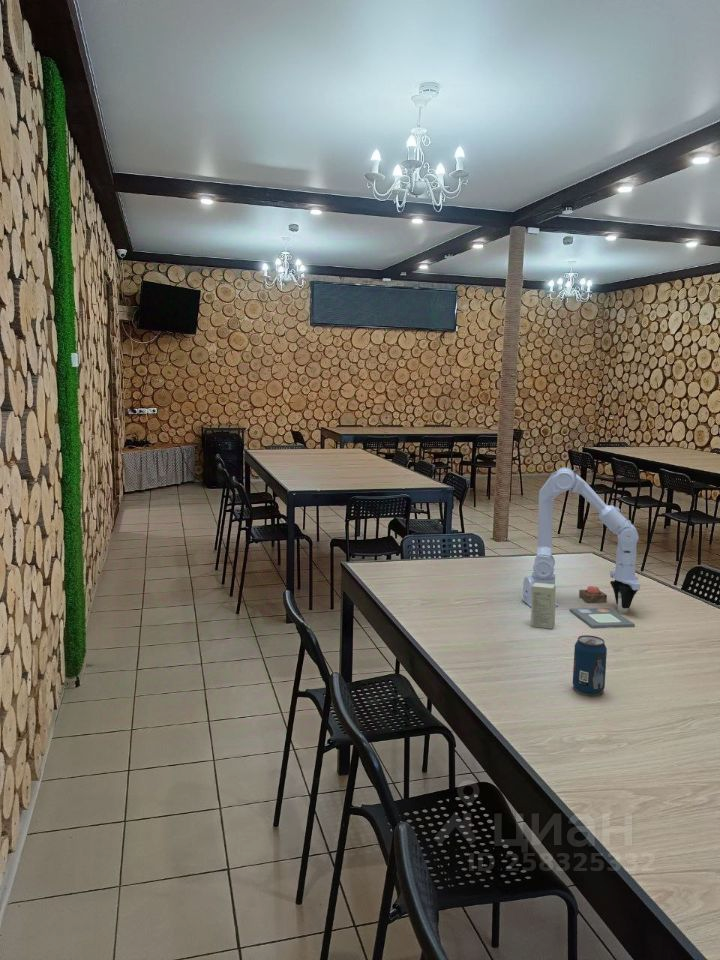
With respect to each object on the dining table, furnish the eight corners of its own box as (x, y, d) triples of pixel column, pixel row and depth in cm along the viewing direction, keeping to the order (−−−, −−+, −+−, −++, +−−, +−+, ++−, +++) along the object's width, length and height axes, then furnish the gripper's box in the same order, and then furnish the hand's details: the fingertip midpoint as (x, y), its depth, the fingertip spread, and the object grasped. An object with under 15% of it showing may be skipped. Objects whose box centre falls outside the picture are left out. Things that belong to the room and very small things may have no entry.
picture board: (592, 628, 194) (592, 625, 194) (569, 611, 209) (570, 608, 208) (634, 626, 195) (634, 623, 195) (609, 610, 210) (609, 607, 210)
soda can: (579, 680, 158) (581, 632, 157) (608, 689, 154) (611, 639, 152) (567, 690, 153) (570, 640, 152) (597, 699, 149) (600, 648, 147)
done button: (590, 598, 218) (590, 589, 218) (585, 595, 222) (585, 586, 221) (600, 598, 219) (601, 589, 218) (595, 594, 222) (595, 586, 222)
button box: (587, 603, 217) (588, 595, 217) (579, 597, 223) (579, 589, 223) (606, 602, 218) (607, 595, 217) (597, 596, 224) (597, 589, 224)
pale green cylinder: (620, 613, 207) (621, 594, 206) (615, 609, 210) (616, 591, 210) (630, 612, 208) (631, 594, 207) (624, 609, 211) (626, 591, 210)
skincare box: (554, 624, 196) (557, 584, 195) (552, 629, 192) (554, 588, 191) (532, 621, 199) (534, 581, 197) (529, 626, 195) (531, 585, 193)
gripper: (650, 569, 200) (647, 613, 202) (625, 557, 215) (623, 598, 216) (628, 569, 199) (625, 613, 201) (605, 557, 214) (602, 599, 216)
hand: (622, 606), depth 209 cm, fingers closed on pale green cylinder, 3 cm apart
